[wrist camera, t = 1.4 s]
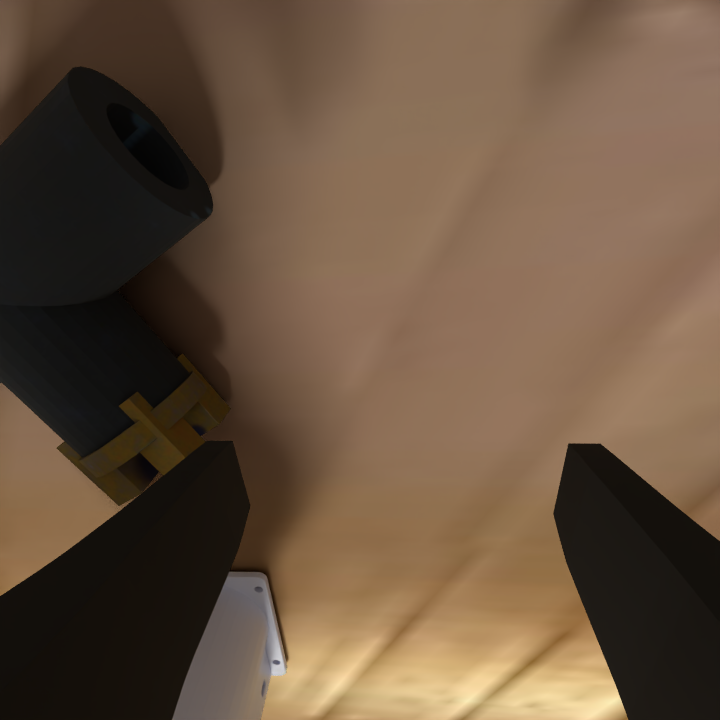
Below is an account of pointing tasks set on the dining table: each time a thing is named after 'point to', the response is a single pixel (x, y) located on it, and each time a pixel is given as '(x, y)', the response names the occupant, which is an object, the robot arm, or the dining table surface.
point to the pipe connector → (98, 282)
